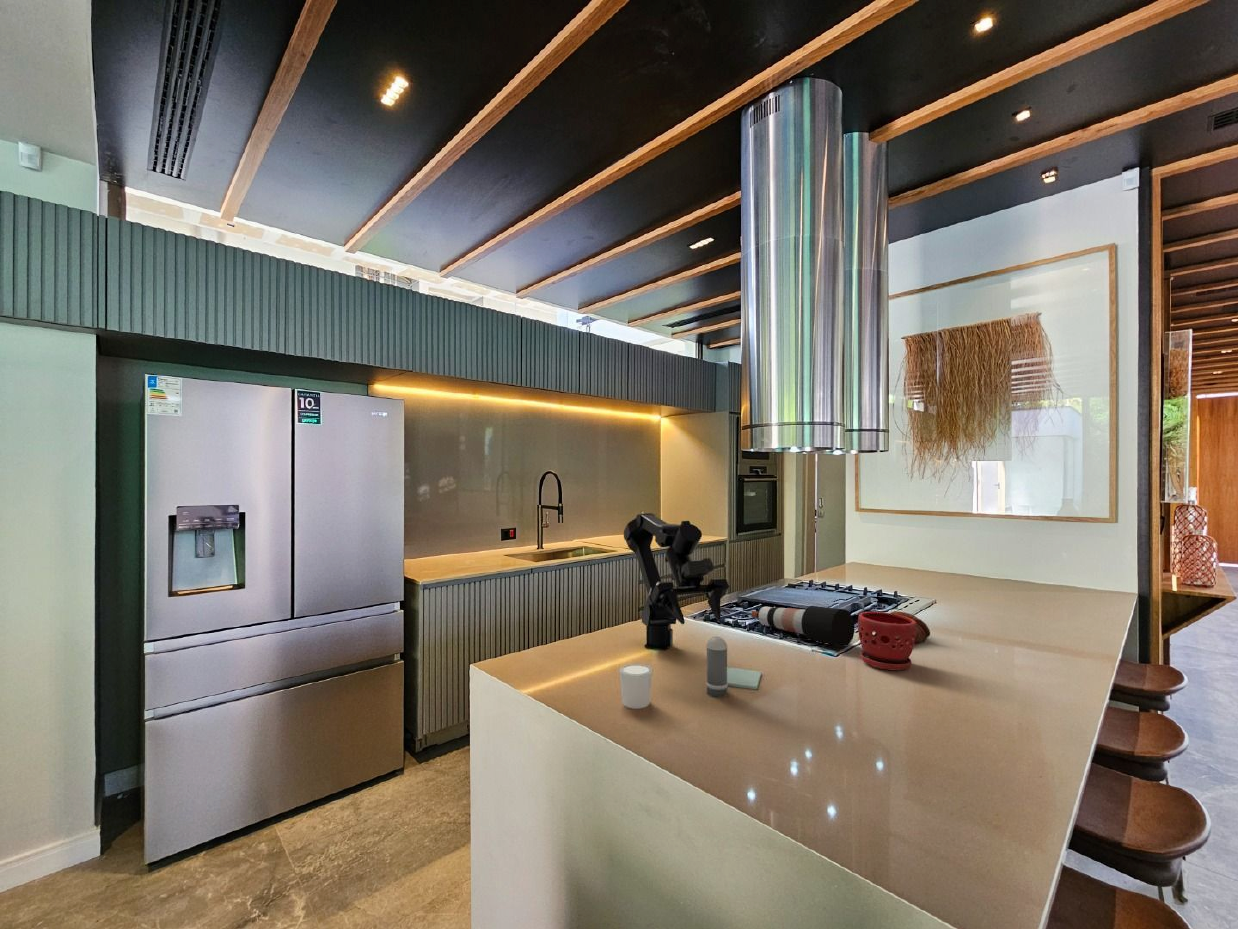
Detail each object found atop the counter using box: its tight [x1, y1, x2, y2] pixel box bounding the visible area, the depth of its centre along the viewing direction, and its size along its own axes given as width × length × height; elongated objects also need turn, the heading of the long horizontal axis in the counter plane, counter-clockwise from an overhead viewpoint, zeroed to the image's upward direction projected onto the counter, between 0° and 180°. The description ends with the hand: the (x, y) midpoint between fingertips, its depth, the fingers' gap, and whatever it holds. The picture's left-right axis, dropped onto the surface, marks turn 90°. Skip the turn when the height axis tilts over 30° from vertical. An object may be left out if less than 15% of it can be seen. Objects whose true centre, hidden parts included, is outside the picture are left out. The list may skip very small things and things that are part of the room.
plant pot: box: [857, 611, 916, 671], centre depth 137 cm, size 13×13×12 cm
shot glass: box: [619, 663, 653, 710], centre depth 114 cm, size 7×7×7 cm
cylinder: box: [705, 636, 729, 698], centre depth 119 cm, size 5×5×12 cm
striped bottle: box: [750, 605, 855, 647], centre depth 163 cm, size 10×34×10 cm, turn 32°
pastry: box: [890, 611, 931, 645], centre depth 159 cm, size 17×15×8 cm
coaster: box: [727, 666, 762, 690], centre depth 127 cm, size 10×10×1 cm
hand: (701, 621), depth 127 cm, fingers open, 9 cm apart
